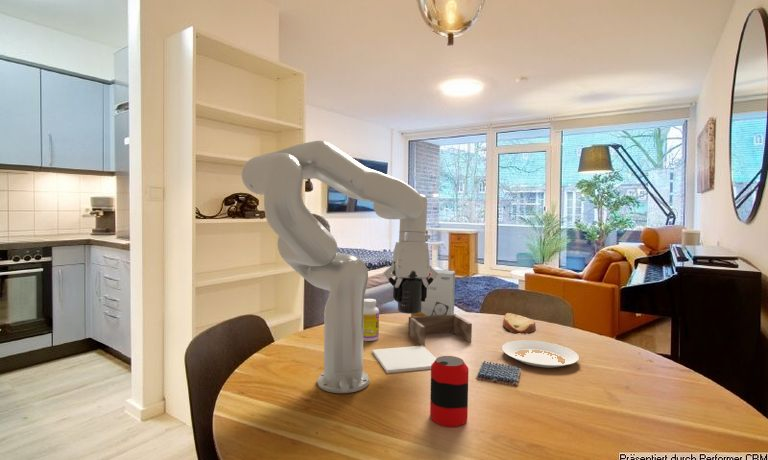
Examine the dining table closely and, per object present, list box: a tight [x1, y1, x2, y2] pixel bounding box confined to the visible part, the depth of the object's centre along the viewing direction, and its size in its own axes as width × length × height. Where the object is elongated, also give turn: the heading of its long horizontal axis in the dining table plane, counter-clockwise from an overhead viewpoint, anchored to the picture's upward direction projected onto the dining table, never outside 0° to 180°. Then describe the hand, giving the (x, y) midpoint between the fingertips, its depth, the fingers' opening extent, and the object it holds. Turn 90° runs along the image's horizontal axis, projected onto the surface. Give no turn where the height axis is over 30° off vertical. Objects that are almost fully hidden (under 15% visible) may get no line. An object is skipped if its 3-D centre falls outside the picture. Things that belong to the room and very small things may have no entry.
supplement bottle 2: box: [397, 271, 422, 315], centre depth 115 cm, size 7×7×12 cm
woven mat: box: [475, 360, 522, 387], centre depth 106 cm, size 10×11×2 cm
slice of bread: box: [502, 312, 537, 334], centre depth 153 cm, size 18×18×4 cm
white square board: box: [371, 345, 438, 374], centre depth 116 cm, size 16×16×1 cm
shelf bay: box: [408, 313, 473, 347], centre depth 136 cm, size 12×17×6 cm
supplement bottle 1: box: [363, 298, 380, 342], centre depth 134 cm, size 7×7×13 cm
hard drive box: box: [410, 269, 456, 317], centre depth 154 cm, size 16×8×20 cm, turn 73°
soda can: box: [429, 355, 469, 428], centre depth 84 cm, size 8×8×12 cm
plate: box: [501, 339, 580, 369], centre depth 119 cm, size 21×21×2 cm
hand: (409, 300), depth 115 cm, fingers closed on supplement bottle 2, 6 cm apart
